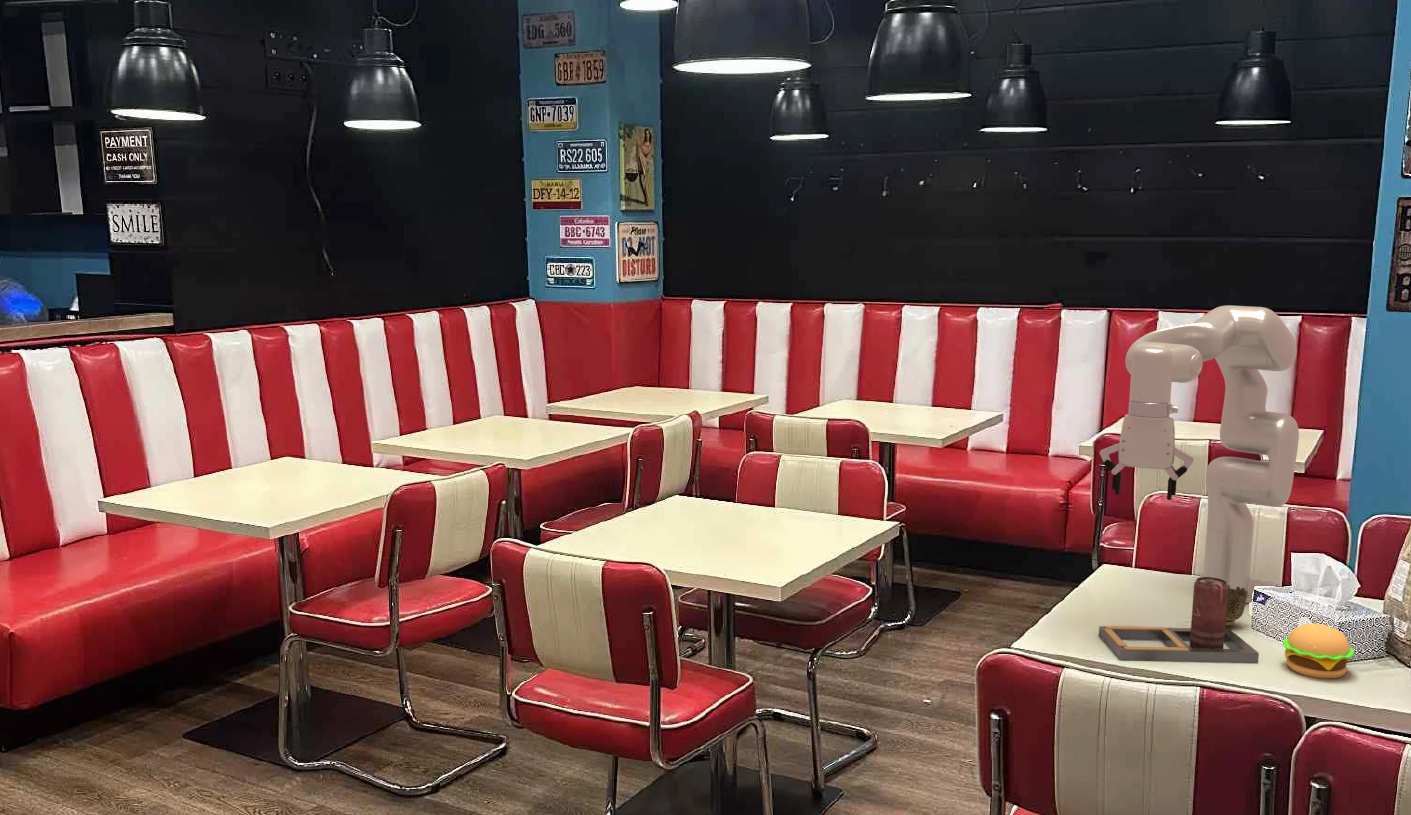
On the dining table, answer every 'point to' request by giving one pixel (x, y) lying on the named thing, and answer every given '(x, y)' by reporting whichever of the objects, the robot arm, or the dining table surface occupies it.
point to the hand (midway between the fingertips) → (1143, 496)
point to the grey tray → (1173, 645)
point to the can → (1209, 613)
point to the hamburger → (1317, 651)
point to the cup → (1235, 605)
